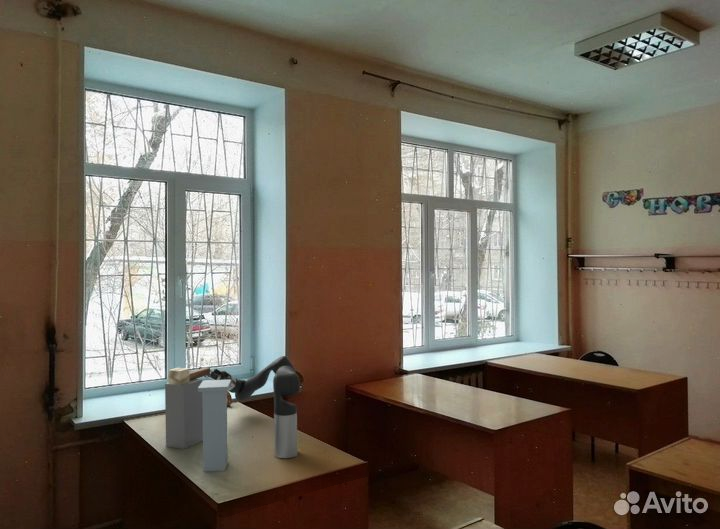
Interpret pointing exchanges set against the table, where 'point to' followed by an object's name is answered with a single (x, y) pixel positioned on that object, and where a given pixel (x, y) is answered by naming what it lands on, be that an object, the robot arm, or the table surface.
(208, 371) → the brown wooden bar
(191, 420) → the grey tall block
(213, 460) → the tall plinth
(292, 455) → the robot arm
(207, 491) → the table surface
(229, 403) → the tin
